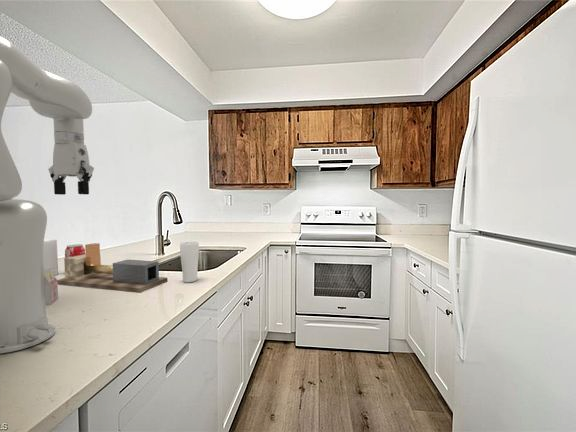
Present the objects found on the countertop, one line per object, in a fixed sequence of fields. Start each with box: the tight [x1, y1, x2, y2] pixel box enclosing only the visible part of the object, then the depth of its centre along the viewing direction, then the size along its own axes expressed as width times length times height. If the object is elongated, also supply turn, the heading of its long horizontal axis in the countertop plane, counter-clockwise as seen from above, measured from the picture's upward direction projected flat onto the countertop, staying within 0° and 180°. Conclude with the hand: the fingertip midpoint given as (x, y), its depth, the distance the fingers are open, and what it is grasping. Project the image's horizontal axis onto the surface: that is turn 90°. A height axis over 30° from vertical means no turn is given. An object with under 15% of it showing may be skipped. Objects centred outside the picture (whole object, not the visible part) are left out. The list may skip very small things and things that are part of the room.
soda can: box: [64, 243, 86, 258], centre depth 125 cm, size 7×7×12 cm
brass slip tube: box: [84, 242, 113, 274], centre depth 111 cm, size 22×4×11 cm, turn 75°
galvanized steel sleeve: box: [112, 259, 160, 285], centre depth 107 cm, size 14×7×7 cm, turn 75°
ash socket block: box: [63, 253, 102, 280], centre depth 114 cm, size 6×10×8 cm, turn 165°
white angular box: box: [44, 268, 59, 306], centre depth 90 cm, size 4×7×10 cm, turn 24°
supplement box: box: [43, 238, 59, 276], centre depth 120 cm, size 9×9×15 cm
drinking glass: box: [179, 241, 200, 283], centre depth 113 cm, size 7×7×15 cm
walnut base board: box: [57, 273, 168, 294], centre depth 110 cm, size 38×14×2 cm, turn 75°
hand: (71, 194), depth 93 cm, fingers open, 9 cm apart
